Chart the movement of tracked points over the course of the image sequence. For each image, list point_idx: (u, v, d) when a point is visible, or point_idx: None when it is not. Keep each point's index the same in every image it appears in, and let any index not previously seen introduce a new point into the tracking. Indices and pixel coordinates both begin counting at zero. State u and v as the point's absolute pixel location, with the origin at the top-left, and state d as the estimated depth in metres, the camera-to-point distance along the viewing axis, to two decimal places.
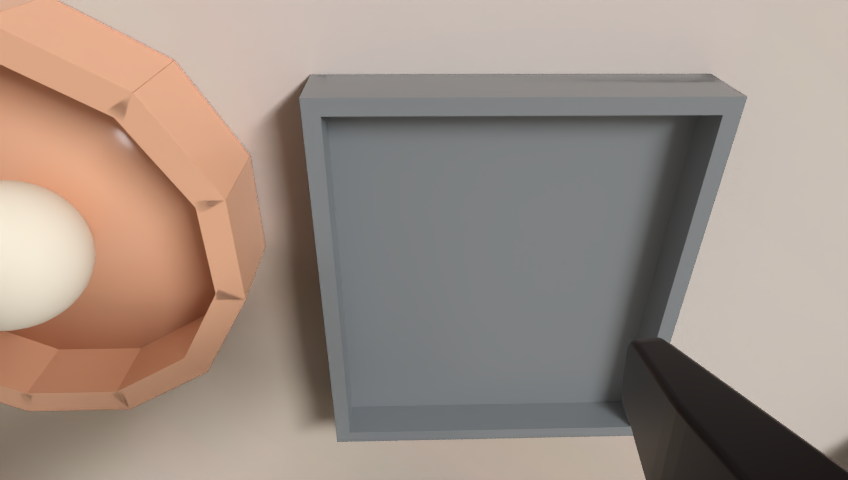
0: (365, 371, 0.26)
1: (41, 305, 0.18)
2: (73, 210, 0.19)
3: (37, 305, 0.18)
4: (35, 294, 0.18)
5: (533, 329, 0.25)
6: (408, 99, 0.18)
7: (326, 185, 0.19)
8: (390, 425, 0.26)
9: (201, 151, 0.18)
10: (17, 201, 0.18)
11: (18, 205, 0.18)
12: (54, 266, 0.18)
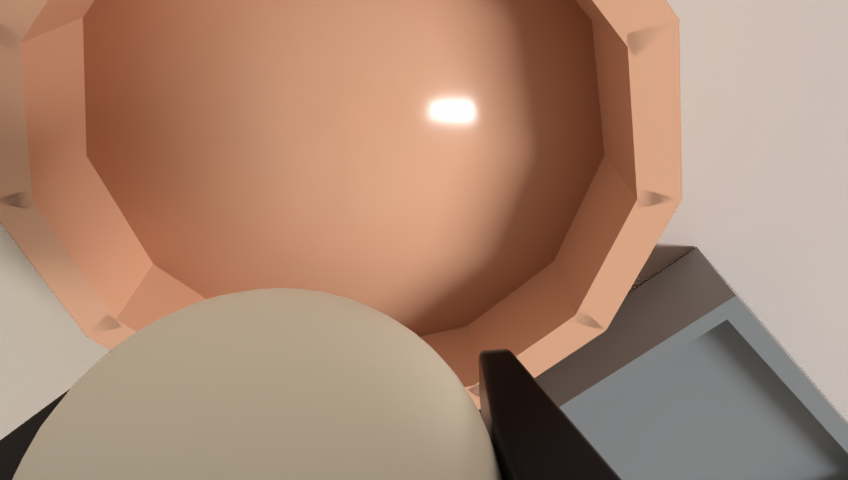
0: None
1: None
2: None
3: None
4: None
5: None
6: (788, 359, 0.17)
7: (653, 363, 0.17)
8: None
9: None
10: None
11: None
12: None
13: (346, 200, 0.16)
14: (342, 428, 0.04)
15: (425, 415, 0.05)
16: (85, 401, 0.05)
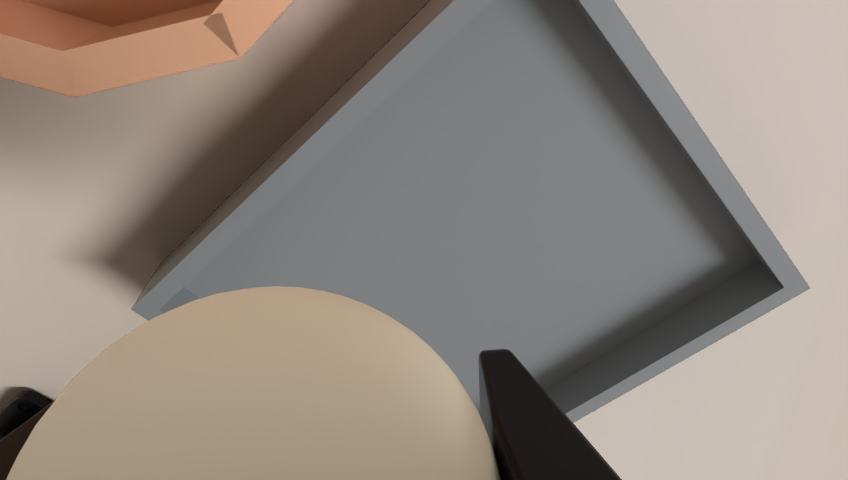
0: (236, 255, 0.19)
1: None
2: None
3: None
4: None
5: (440, 341, 0.21)
6: (631, 29, 0.14)
7: (461, 27, 0.14)
8: None
9: None
10: None
11: None
12: None
13: None
14: (337, 428, 0.04)
15: (422, 413, 0.05)
16: (79, 400, 0.05)
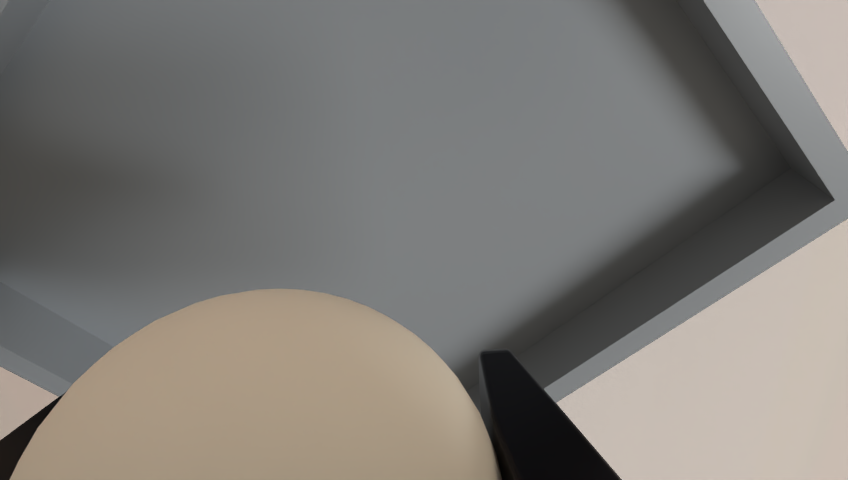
0: None
1: None
2: None
3: None
4: None
5: None
6: None
7: None
8: None
9: None
10: None
11: None
12: None
13: None
14: (340, 431, 0.04)
15: (425, 417, 0.05)
16: (82, 403, 0.05)
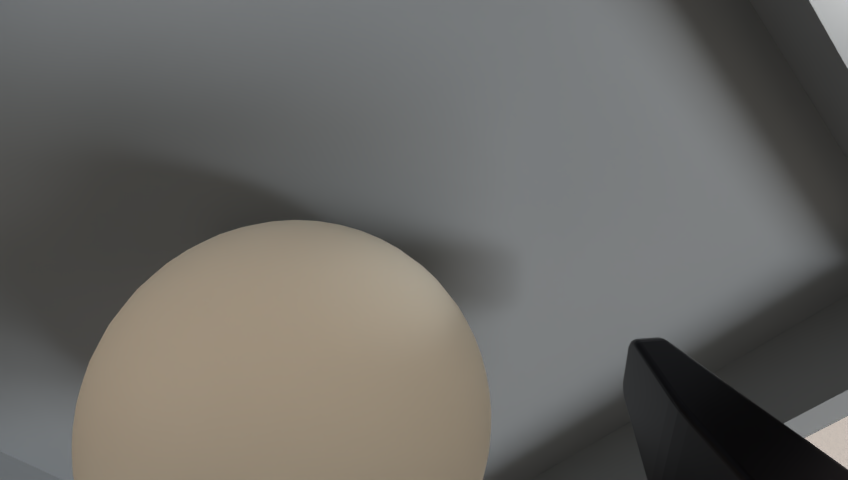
0: None
1: None
2: None
3: None
4: None
5: None
6: None
7: None
8: None
9: None
10: (486, 387, 0.07)
11: (488, 402, 0.07)
12: None
13: None
14: (357, 308, 0.06)
15: (423, 308, 0.06)
16: (150, 294, 0.06)
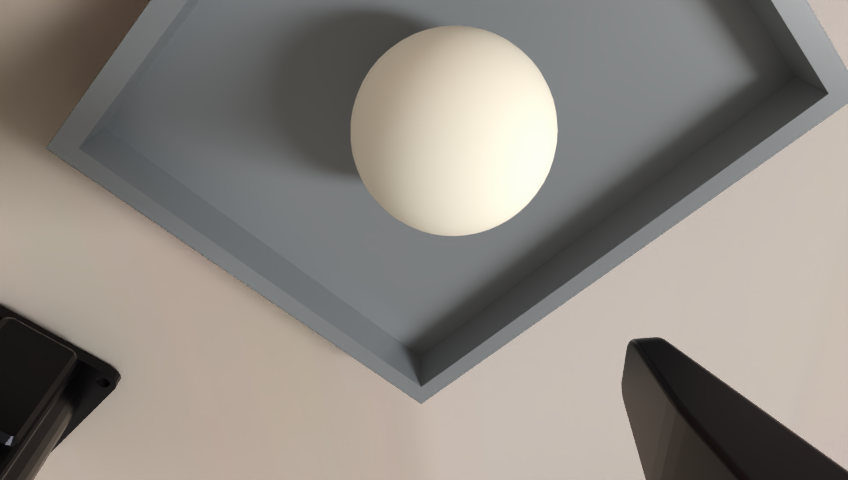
0: (171, 89, 0.16)
1: (481, 230, 0.14)
2: None
3: (484, 228, 0.13)
4: (500, 220, 0.13)
5: None
6: None
7: None
8: (145, 185, 0.16)
9: None
10: (555, 110, 0.14)
11: (556, 116, 0.13)
12: (528, 202, 0.14)
13: None
14: (501, 47, 0.12)
15: (527, 57, 0.13)
16: (399, 48, 0.13)
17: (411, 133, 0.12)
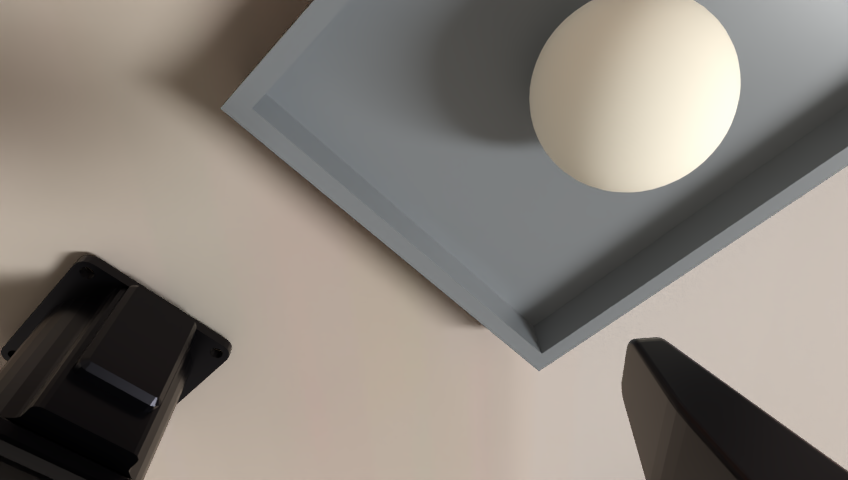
0: (334, 54, 0.16)
1: (663, 185, 0.14)
2: None
3: (667, 182, 0.14)
4: (685, 173, 0.14)
5: (556, 169, 0.18)
6: None
7: None
8: (305, 147, 0.17)
9: None
10: None
11: None
12: (704, 158, 0.14)
13: None
14: (699, 5, 0.13)
15: None
16: (598, 7, 0.13)
17: (625, 85, 0.12)
